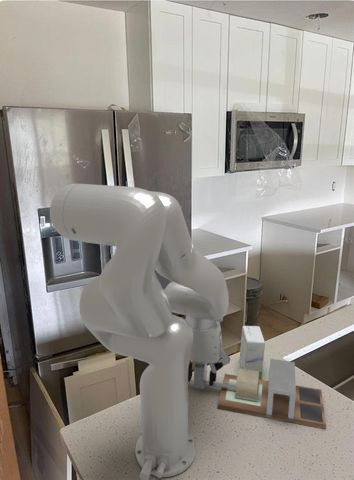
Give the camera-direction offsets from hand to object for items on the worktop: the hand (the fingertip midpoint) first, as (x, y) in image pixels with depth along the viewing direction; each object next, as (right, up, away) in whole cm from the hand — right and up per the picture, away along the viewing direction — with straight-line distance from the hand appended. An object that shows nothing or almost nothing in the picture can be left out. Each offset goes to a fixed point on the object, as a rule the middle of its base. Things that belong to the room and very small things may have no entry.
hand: (200, 380), depth 95 cm
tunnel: (+19, -4, -5) cm, 20 cm away
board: (+17, -4, -4) cm, 18 cm away
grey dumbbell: (+6, -1, -2) cm, 7 cm away
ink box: (+15, 0, +8) cm, 17 cm away
